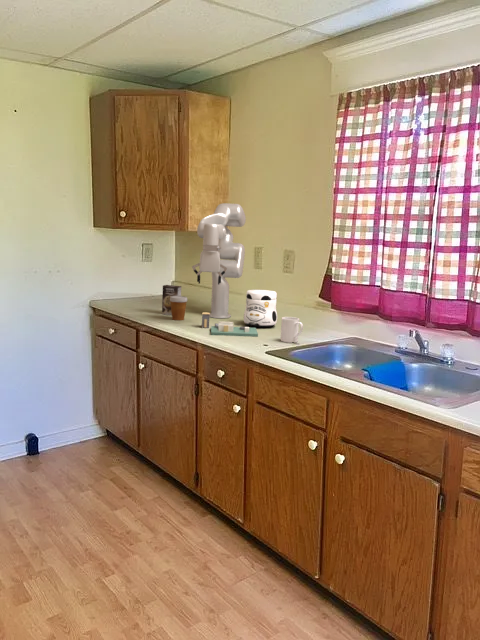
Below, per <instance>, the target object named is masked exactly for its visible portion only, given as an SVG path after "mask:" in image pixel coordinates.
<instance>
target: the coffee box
mask: <svg viewBox="0 0 480 640" xmlns="http://www.w3.org/2000/svg"><path fill="white" fill-rule="evenodd" d="M171 296H182V285H172V284H164V285H162V296H161V297H162V299H161V302H162V303H161V305H162V306H161V315H167V316H172V312H171V302H170V297H171Z"/></svg>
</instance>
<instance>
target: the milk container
mask: <svg viewBox="0 0 480 640" xmlns="http://www.w3.org/2000/svg"><path fill="white" fill-rule="evenodd" d="M277 296H278V294H277V292H276V291H275V290H268V289H248V290H246V299H245V303H246V304H245V309H244V313H243V322H244V324H246V325H247V326H250V327H253V328H271V327H274V326H275V325H276V324H277V322H278V313H277V298H278V297H277Z"/></svg>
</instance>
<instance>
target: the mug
mask: <svg viewBox="0 0 480 640" xmlns="http://www.w3.org/2000/svg"><path fill="white" fill-rule="evenodd" d="M280 325H281V328H280V341H281V342H283V343H287V344H288V343H289V344H292V342H294V343H298V341H299V336H300V335H301V334H302V332H303V330H304V324H303V323H302V322H301V321H300V318H298V317H295V316H294V317H293V316H282V317H281V324H280ZM299 326H300V327H299Z"/></svg>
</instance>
